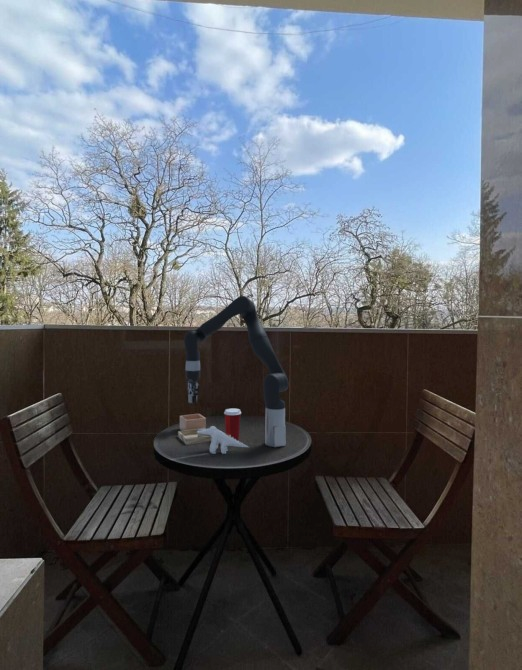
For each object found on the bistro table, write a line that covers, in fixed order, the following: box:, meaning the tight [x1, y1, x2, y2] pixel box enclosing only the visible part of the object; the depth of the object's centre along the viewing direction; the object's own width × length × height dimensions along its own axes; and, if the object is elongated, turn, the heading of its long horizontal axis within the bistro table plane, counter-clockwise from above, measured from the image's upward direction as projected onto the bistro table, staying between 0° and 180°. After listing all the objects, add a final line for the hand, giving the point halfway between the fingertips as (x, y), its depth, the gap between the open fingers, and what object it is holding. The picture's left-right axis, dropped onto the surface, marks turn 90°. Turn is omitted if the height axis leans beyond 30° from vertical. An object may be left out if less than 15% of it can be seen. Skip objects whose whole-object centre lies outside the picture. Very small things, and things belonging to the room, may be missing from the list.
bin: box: [179, 413, 207, 431], centre depth 187 cm, size 11×11×8 cm
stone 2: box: [198, 427, 207, 437], centre depth 174 cm, size 4×4×4 cm
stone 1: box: [187, 393, 193, 404], centre depth 186 cm, size 4×4×4 cm
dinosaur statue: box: [197, 425, 249, 455], centre depth 157 cm, size 7×24×11 cm, turn 84°
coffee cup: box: [223, 408, 242, 441], centre depth 172 cm, size 8×8×15 cm
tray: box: [177, 429, 212, 446], centre depth 173 cm, size 14×14×4 cm
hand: (192, 401), depth 187 cm, fingers closed on stone 1, 4 cm apart
